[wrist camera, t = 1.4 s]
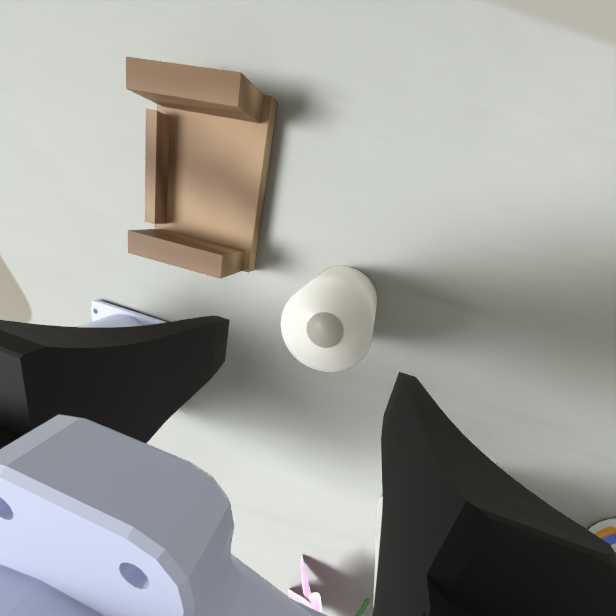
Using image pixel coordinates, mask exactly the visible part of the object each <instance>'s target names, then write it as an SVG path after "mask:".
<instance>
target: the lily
mask: <svg viewBox="0 0 616 616" xmlns="http://www.w3.org/2000/svg"><path fill="white" fill-rule="evenodd" d="M301 577H302V588H303V594H304V598H305V599H304V598H303V597H301V596H300V595H298V594H296V593H294V592H292V591H291V590H290V589H289V592H288V593H289V598H291V599H293V600H295V601H297V602H299V603H302V604H304V605H306V606H308V607H310V608H312V609H314V610H316V611H318V612H320V613H322V603H321V596H320V594H319V593H317V592H314V593H311V591H310V587H309V584H308V579H307V575H306V571H305V566H304V561H303V556H301ZM368 603H369V600H368V599H367V600H366V601H365V603H364V604H363V606H362V607H361V609H360V610H359V612H358V613H357V615H356V616H360V615H361V614H362V613H363V611H364V609H365V608H366V606H367V605H368Z"/></svg>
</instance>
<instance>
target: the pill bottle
mask: <svg viewBox="0 0 616 616" xmlns="http://www.w3.org/2000/svg"><path fill="white" fill-rule="evenodd" d="M588 530H589V531H590V532H592V533H593V534H595V535H596V536H598V537H600V538H601V539H603V540H604V541H606V542H607V543H609V544H610V545H611V547H612V548H613V550H614V551H615V553H616V518H614V519H607V520H604V521H601V522H598V523H596V524H595V525H593V526H592V527H590V528H589V529H588Z"/></svg>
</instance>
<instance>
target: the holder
mask: <svg viewBox="0 0 616 616" xmlns="http://www.w3.org/2000/svg"><path fill="white" fill-rule="evenodd" d="M126 89H128V90H130V91H132V92H134V93H136V94H138V95H140V96H142V97H145V98H147V99H149V100H151V101H153V102H155V103H157V111H156V110H150V109H146V169H145V222H149V223H153V224H155V229H147V230H128V253H131V254H134V255H138V256H141V257H145V258H149V259H152V260H156V261H159V262H163V263H166V264H170V265H174V266H177V267H181V268H184V269H188V270H191V271H195V272H198V273H202V274H206V275H209V276H213V277H216V278H220V279H221V278H223V277H226V276H229V275H232V274H234V273H237V272H240V271H245V272H251V271H253V270H254V267H255V260H256V253H257V246H258V239H259V231H260V224H261V217H262V210H263V203H264V196H265V189H266V182H267V174H268V167H269V160H270V153H271V146H272V139H273V132H274V124H275V117H276V110H277V101H276V100H275V99H274V98H273V97H271V96H265V95H263V94H262V93H261V92H260V91H259V90H258V89H257V88H256V87H255V86H254V85H253V84H252V83H251V82H250V81H249V80H248V79H247V78H246V77H245V76H244V75H243V74H242V73H240V72H232V71H225V70H218V69H211V68H204V67H196V66H189V65H182V64H175V63H168V62H161V61H153V60H146V59H139V58H132V57H126Z"/></svg>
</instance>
